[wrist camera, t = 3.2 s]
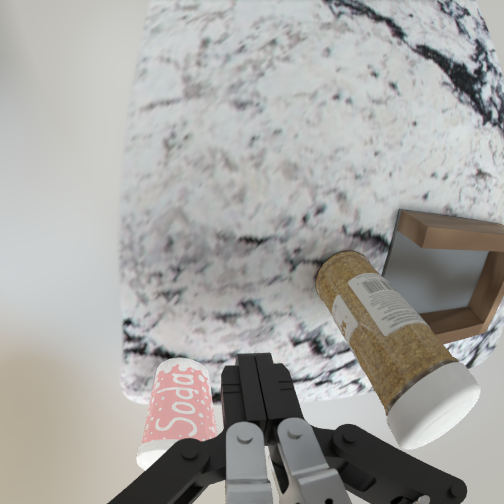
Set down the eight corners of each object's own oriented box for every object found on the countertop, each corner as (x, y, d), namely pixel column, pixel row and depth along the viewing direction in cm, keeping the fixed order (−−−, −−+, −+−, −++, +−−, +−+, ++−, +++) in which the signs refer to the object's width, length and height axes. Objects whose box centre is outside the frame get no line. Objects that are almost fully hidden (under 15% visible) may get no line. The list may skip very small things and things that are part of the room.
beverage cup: (228, 362, 23) (250, 524, 11) (204, 401, 25) (213, 537, 13) (157, 342, 22) (139, 516, 9) (141, 385, 24) (127, 527, 11)
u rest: (399, 209, 19) (428, 226, 16) (501, 224, 22) (524, 238, 18) (363, 330, 24) (380, 357, 21) (467, 314, 26) (485, 332, 23)
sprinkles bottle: (302, 291, 21) (381, 458, 9) (336, 238, 20) (462, 387, 8) (348, 308, 23) (432, 448, 10) (380, 262, 21) (494, 389, 9)
